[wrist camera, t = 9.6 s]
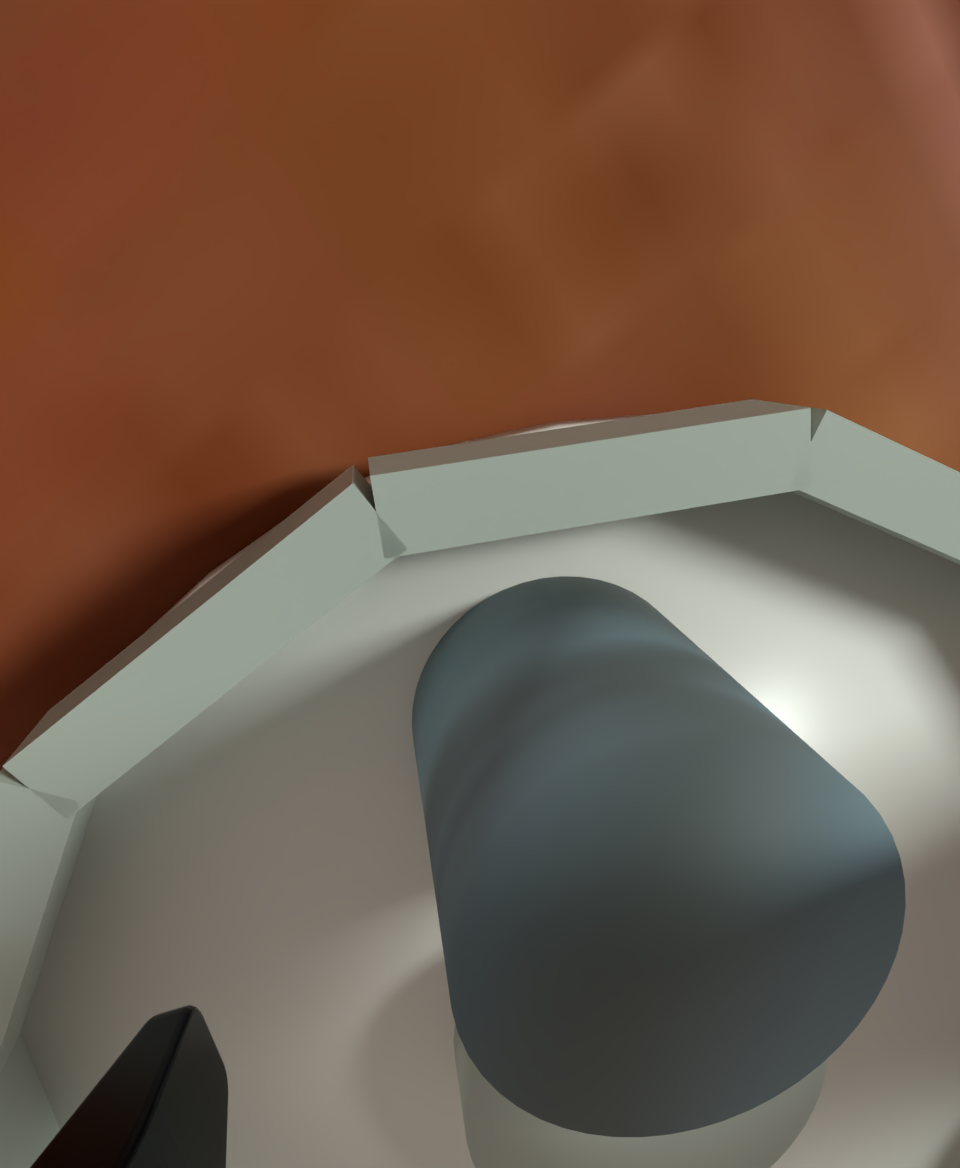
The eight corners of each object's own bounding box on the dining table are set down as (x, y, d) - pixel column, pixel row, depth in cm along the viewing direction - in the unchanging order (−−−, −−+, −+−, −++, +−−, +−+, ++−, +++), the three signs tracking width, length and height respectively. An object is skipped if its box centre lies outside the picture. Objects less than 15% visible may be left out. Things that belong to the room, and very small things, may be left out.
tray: (1316, 662, 15) (1478, 716, 13) (802, 1404, 20) (857, 1536, 17) (223, 159, 10) (186, 108, 8) (-129, 1321, 14) (-214, 1494, 12)
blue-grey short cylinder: (741, 631, 12) (989, 816, 7) (621, 867, 13) (772, 1166, 8) (478, 533, 11) (570, 678, 6) (369, 798, 12) (377, 1097, 7)
